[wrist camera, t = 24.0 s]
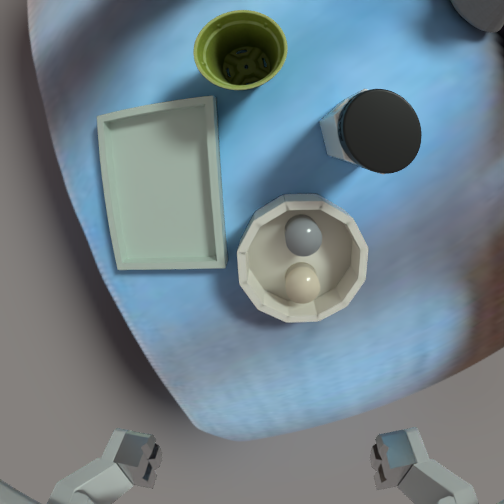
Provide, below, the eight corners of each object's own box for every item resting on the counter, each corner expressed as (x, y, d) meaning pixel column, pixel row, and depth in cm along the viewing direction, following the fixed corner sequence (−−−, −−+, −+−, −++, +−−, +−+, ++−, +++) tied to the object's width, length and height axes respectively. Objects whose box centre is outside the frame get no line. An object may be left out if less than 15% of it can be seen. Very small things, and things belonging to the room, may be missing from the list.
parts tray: (105, 116, 36) (96, 116, 34) (216, 98, 35) (212, 95, 33) (124, 263, 44) (117, 269, 41) (227, 261, 43) (225, 268, 40)
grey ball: (283, 215, 39) (284, 222, 36) (317, 213, 39) (321, 220, 35) (285, 247, 41) (286, 257, 37) (317, 245, 40) (322, 255, 37)
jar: (354, 88, 33) (386, 69, 22) (394, 135, 35) (438, 136, 24) (305, 131, 36) (320, 126, 25) (347, 178, 38) (378, 194, 26)
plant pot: (200, 48, 33) (183, 27, 24) (270, 27, 31) (270, 0, 23) (222, 110, 36) (208, 102, 27) (293, 89, 34) (300, 75, 26)
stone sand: (284, 262, 41) (285, 273, 38) (317, 261, 41) (320, 272, 38) (284, 291, 43) (285, 304, 39) (315, 290, 43) (319, 303, 39)
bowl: (237, 195, 39) (233, 203, 35) (359, 193, 38) (371, 200, 34) (245, 304, 45) (242, 323, 40) (352, 300, 44) (360, 318, 39)
